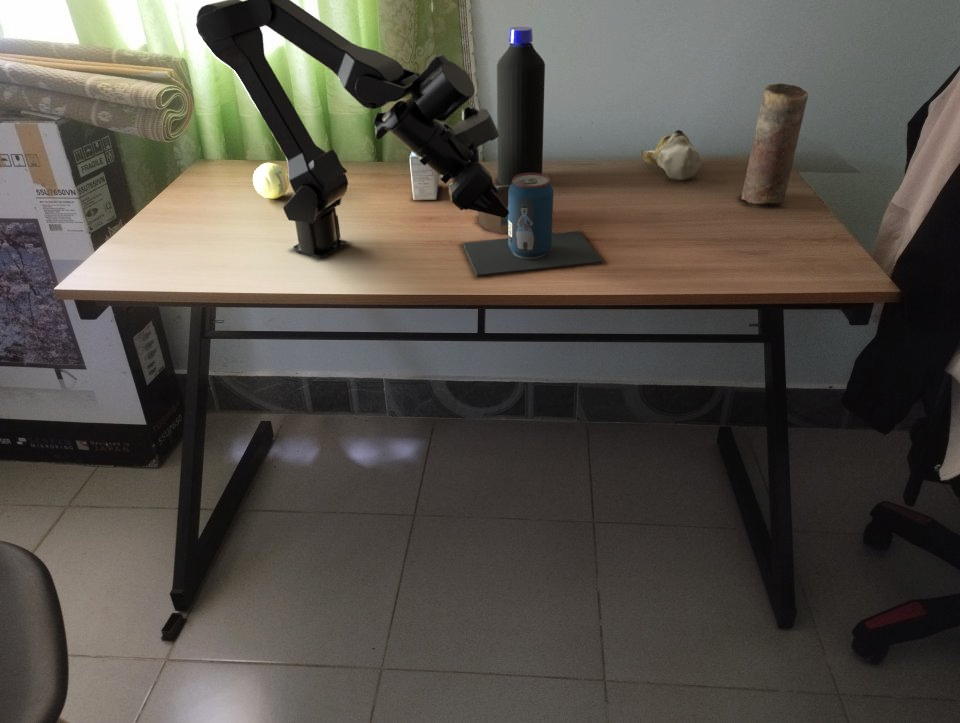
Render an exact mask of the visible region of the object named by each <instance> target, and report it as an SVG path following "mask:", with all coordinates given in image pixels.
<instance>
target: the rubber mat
mask: <svg viewBox="0 0 960 723" xmlns="http://www.w3.org/2000/svg"><path fill="white" fill-rule="evenodd" d="M462 245H463V248H464V250H465V253H466V255H467V257H468V260H469V262H470V264H471V266H472V269H473V271H474V273H475V275H476V277H477V278H480V277H490V276H499V275H510V274H516V273H517V274H518V273H526V272H527V273H528V272H535V271H545V270H555V269H564V268H570V267H571V268H572V267H580V266H590V265H600V264H603V260H602V258H601V257H600V256H599V255H598V253H597V252H596V251H595V249H594V248H593V247H592V246H591V244H590V243H589V241H588V240H587V239H586V238H585V237H584V235H583V234H582V233H581V231H580V230H575V231H565V232H557V233H552V245H551V248H550V249H549V251H548V252H547V254H546V255H544V256H543V257H540V258H535V259H525V258H520V257H517V256H515V255H514V254H513V252H512V251H511V249H510V247H509V245H508V237H507V238H498V239H488V240H479V241H468V242H463V243H462Z"/></svg>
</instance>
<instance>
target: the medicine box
mask: <svg viewBox="0 0 960 723" xmlns="http://www.w3.org/2000/svg"><path fill="white" fill-rule="evenodd" d="M410 152H411V153H410V156H409V165H410V166H409V167H410V176H411V177H410V178H411V189H412V190H411V191H412V199H413V200H414V201H436V200H437V196H438V192H439V185H440V184H439V183H440V182H439V174H438V173H436V172H435V171H434V170H433V169H432V168H431V167H430V166H428V165H427V164H426V165H425V166H424V165H423V164H422V163H421V162H420V161H419V158H418V156H417V155H416V154H415V153H413V152H412V151H410Z"/></svg>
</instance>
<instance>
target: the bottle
mask: <svg viewBox="0 0 960 723" xmlns="http://www.w3.org/2000/svg"><path fill="white" fill-rule="evenodd" d="M508 32H509V33H508V34H509V35H508V42H509V46H508V48H507V50H505V52H504V53H503V54H502V56H500V58H499V59H498V60H497V63H496V126H497V127H496V128H497V130H498V132H499V136H498V137H497V138H496V140H497V142H496V143H497V147H496V148H497V149H496V150H497V182H498V183H499V184H500V185H511V184H512V179H513V177H514V176H516V175H519V174H523V173H540V174H543V158H544V157H543V156H544V155H543V153H544V119H545V118H544V116H545V83H546V82H545V79H546V78H545V77H546V76H545V75H546V63H545V61H544V59H543V57H541V55H540V54H539V52H537V51H536V49H535V48H534V45H533V43H532V42H533V35H534V34H533V28H532V27H530V26H513V27H510V28H509V31H508Z"/></svg>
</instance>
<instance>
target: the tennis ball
mask: <svg viewBox="0 0 960 723" xmlns="http://www.w3.org/2000/svg"><path fill="white" fill-rule="evenodd" d="M252 178H253V179H252V182H253V186H254V189H255V190H256V192H257V193H258V194H259V195H260V196H262V197H263V198H266V199H278V198H281V197H282V196H283V195H285V193H286V192H287V191H288V188H289V185H290V182H289V174H288V173H287V171H286V170H285V169H284V168H283V167H282V166H280V165H279V164H277V163H271V162H266V163H263V164H261V165H260V166H259V167H257V168H256V170H254V173H253V176H252Z"/></svg>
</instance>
